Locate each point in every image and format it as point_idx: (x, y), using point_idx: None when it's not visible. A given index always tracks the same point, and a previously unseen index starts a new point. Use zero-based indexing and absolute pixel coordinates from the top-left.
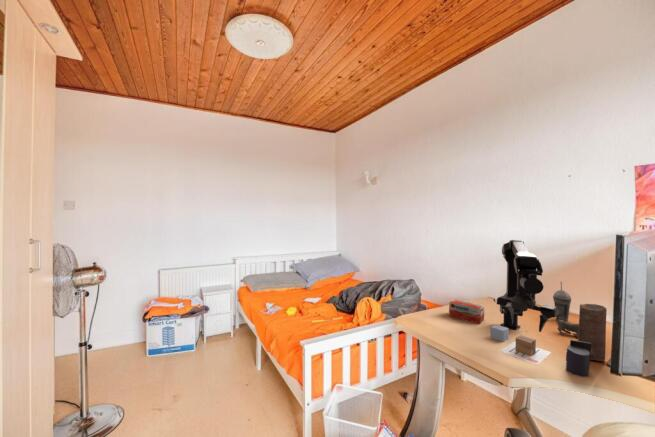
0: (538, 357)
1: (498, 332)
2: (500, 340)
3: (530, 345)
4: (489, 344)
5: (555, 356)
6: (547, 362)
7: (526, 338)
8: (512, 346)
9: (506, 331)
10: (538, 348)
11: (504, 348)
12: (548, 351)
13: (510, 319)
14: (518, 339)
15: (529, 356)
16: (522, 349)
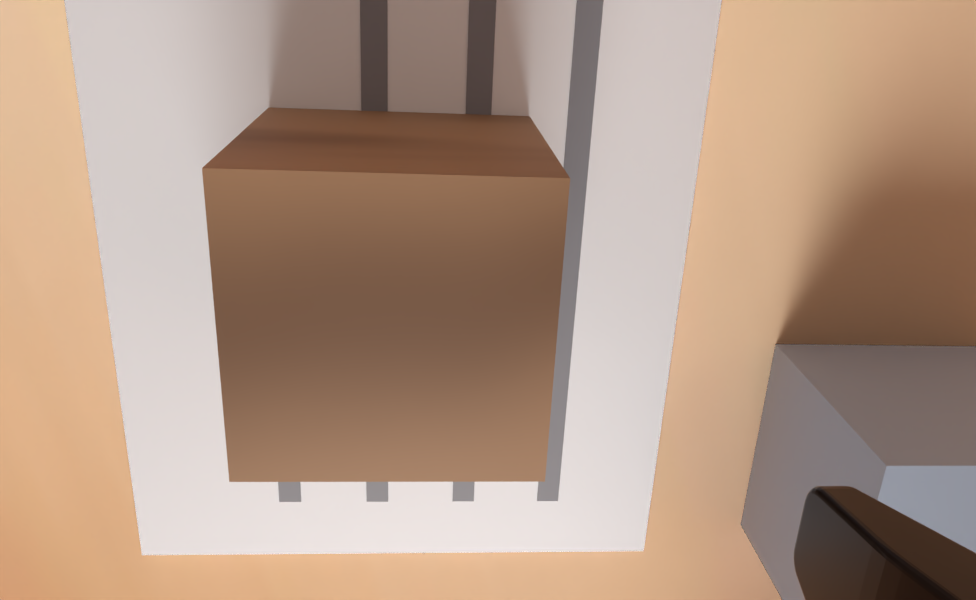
0: (171, 172)
1: (951, 426)
2: (836, 353)
3: (233, 154)
4: (965, 33)
5: (62, 476)
6: (16, 120)
7: (383, 375)
8: (621, 274)
9: None
10: (315, 541)
11: (705, 48)
12: (181, 550)
13: (971, 577)
14: (500, 171)
15: (279, 71)
16: (409, 126)
